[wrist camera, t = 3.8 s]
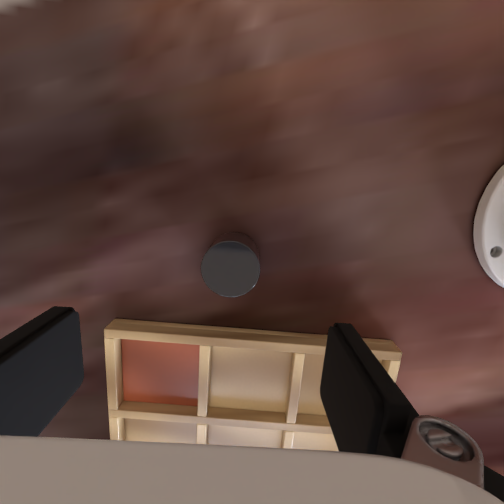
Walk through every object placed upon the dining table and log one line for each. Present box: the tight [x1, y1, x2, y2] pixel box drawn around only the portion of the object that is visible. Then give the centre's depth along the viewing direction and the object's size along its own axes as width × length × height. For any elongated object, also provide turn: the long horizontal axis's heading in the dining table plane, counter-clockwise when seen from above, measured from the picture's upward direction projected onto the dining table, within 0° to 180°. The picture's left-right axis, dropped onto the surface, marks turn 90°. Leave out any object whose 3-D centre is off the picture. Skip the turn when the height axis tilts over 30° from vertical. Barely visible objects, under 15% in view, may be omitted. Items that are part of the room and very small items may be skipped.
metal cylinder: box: [201, 232, 260, 297], centre depth 20 cm, size 4×4×4 cm
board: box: [104, 319, 402, 451], centre depth 25 cm, size 24×24×2 cm
